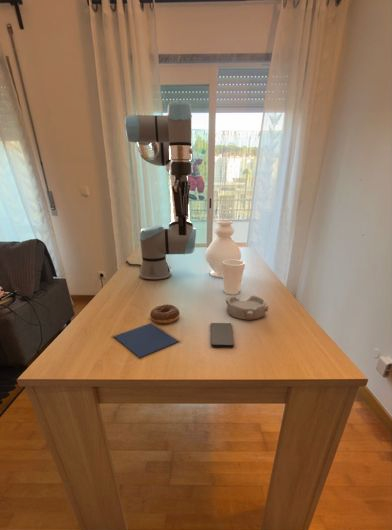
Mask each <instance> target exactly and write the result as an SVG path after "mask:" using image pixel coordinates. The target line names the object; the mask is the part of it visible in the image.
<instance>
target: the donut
mask: <svg viewBox="0 0 392 530" xmlns="http://www.w3.org/2000/svg"><path fill="white" fill-rule="evenodd" d="M149 315H150V319H151V320H152V321H153V322H155V323H158V324H169V323H174V322H175V321H177V320H178V319H179V318H180V310H179V308H178V307H176V306H175V305H173V304H168V303H167V304H160V305H158V306H155V307H154V308H152V309H151V310H150V313H149Z"/></svg>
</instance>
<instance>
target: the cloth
mask: <svg viewBox="0 0 392 530" xmlns="http://www.w3.org/2000/svg"><path fill="white" fill-rule="evenodd" d="M113 338H114V339H115V340H117V342H119V343H120V344H122V345H123V346H124V347H125V348H126V349H128V350H129V351H130V352H131V353H132V354H134V356H136V357H137V358H139V359H141V358H144V357H146V356H148V355H150V354H153V353H155V352H159V351H160V350H163V349H165V348H167V347H170V346H173V345H175V344H177V343H179V340H178V339H176V338H174V337H173V336H171V335H169V334H168V333H166V332H165V331H164V330H162V329H160V328H158V326H156V325H154V324H152V323H151V322H150V323H148V324H145V325H142V326H139V327H137V328H133V329H131V330H128V331H126V332H122V333H120V334H116V335H113Z"/></svg>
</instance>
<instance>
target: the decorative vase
mask: <svg viewBox="0 0 392 530" xmlns="http://www.w3.org/2000/svg"><path fill="white" fill-rule="evenodd" d="M216 224H217V226H216V227H215V228H214V230H213V231H214V234H215V235H216V237H215V238H214V239H213V240H212V241H211V242H210V244H209V245H208V247H207V249H206V251H205V255H204V257H205V261H206V263H207V265H208V266H209V267H210V268H211V270H210V272H209V274H210V276H212V277H214V278H215V277H216V278H219V279H221V278H222V279H223V268H222V262H223V261H224V260H228V259H237V260H241V259H242V253H241V250H240V247H239V246H238V243H236V241H235V240H234V239H233V238H232V237H231V236H232V235H234V233H235V228H234V227H233V226H232V224H233V220H229V219H226V220H225V219H222V220H216Z"/></svg>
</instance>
